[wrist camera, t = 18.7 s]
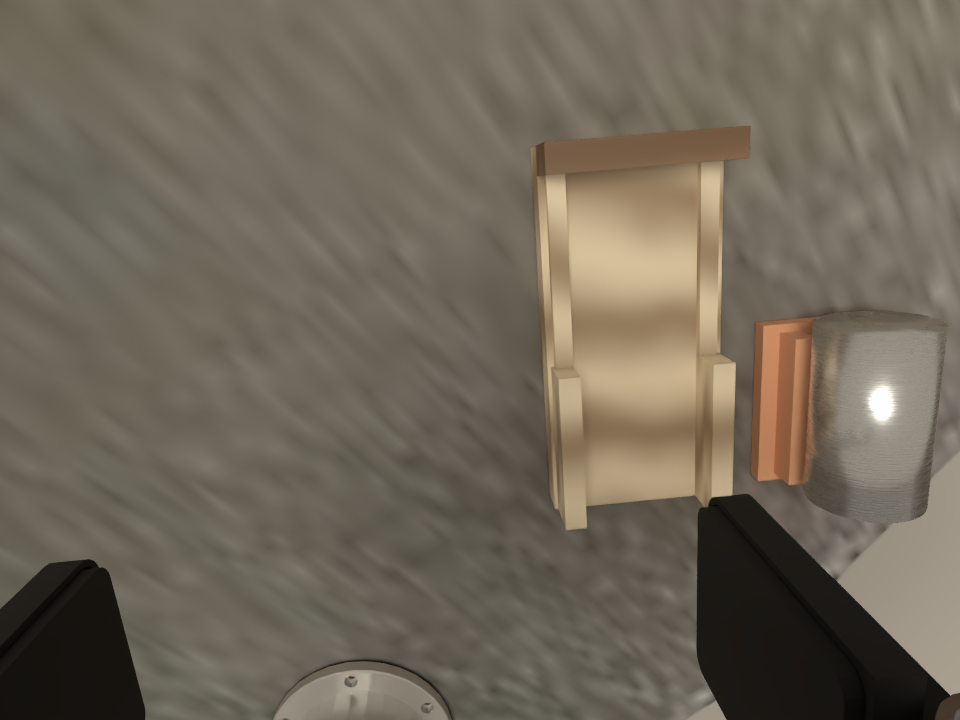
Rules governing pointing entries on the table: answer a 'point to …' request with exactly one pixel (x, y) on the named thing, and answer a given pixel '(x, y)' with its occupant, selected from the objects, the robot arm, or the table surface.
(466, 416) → the table surface
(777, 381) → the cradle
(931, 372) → the grey metal cylinder
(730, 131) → the beige elongated piece
